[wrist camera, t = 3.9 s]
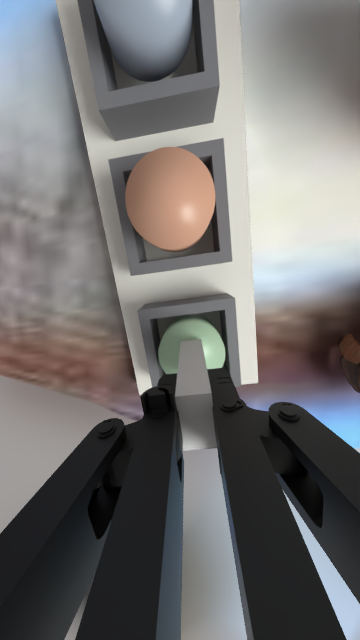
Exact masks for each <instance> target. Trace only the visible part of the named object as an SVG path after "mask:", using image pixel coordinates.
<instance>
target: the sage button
mask: <svg viewBox="0 0 360 640" xmlns="http://www.w3.org/2000/svg"><path fill="white" fill-rule="evenodd" d="M195 339H201V340H202V346H203V351H204V356H205V361H206V367H207V369H215V368H222V366H223V364H224V361H225V347H224V344H223V341H222V339H221V337H220V335H219V333H218V331H217V329H216V327H215V326H214V324H213V323H212V322H211V321H210V320H209V319H207V318H205V317H203V316H201V315H197V314H187V315H181V316H179V317H177V318H175V319H174V320H173V321H171V322H170V323H169V325H168V326H167V328H166V330H165V332H164V335H163V337H162V340H161V343H160V346H159V351H158V356H159V362H160V365H161V367H162V369H163V370H164V372H165V373H166V374H174V373H177V372H178V362H179V353H180V343H181V341H186V340H195Z"/></svg>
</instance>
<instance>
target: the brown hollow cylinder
mask: <svg viewBox="0 0 360 640" xmlns="http://www.w3.org/2000/svg"><path fill="white" fill-rule="evenodd" d="M340 352H341V353H342V354H343V356H341V357H340V361H341V365H342V368H343V371H344V374H345V376H346V378H347V380H348V382H349V383H350V385H351V386H352V387H353V388H354V390H355V391H357V392H359V393H360V344H359V343H358V342H357V341H356V339H355V337H354V335H351V334H347V335H346V336H345V337H344V338H343V340H342V341H341V342H340Z"/></svg>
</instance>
